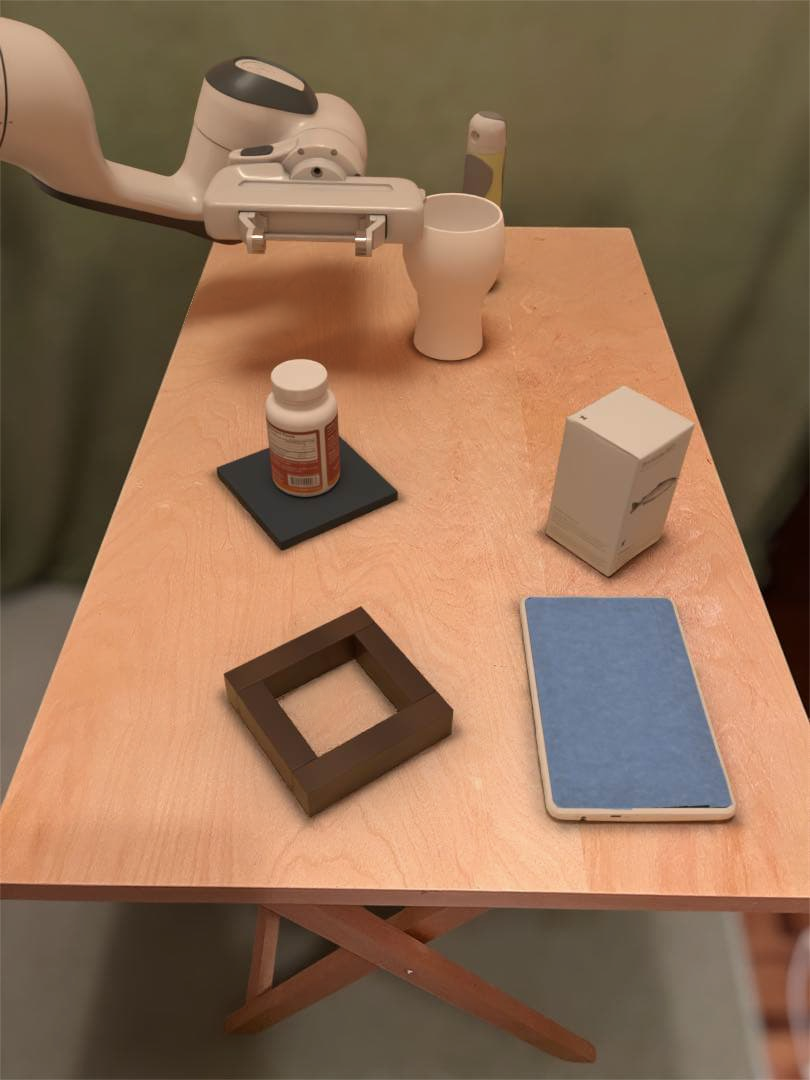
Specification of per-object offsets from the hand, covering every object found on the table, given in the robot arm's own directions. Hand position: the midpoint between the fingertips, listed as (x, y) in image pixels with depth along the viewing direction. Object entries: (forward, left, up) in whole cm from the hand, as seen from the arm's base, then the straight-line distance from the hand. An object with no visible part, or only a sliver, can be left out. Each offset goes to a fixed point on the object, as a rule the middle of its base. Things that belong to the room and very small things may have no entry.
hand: (309, 247), depth 79 cm
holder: (-18, -32, -18) cm, 41 cm away
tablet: (0, -42, -18) cm, 46 cm away
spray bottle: (+30, +13, -18) cm, 37 cm away
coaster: (-7, -9, -18) cm, 21 cm away
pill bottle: (-7, -9, -17) cm, 20 cm away
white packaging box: (+11, -29, -18) cm, 36 cm away
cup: (+19, +4, -18) cm, 27 cm away
